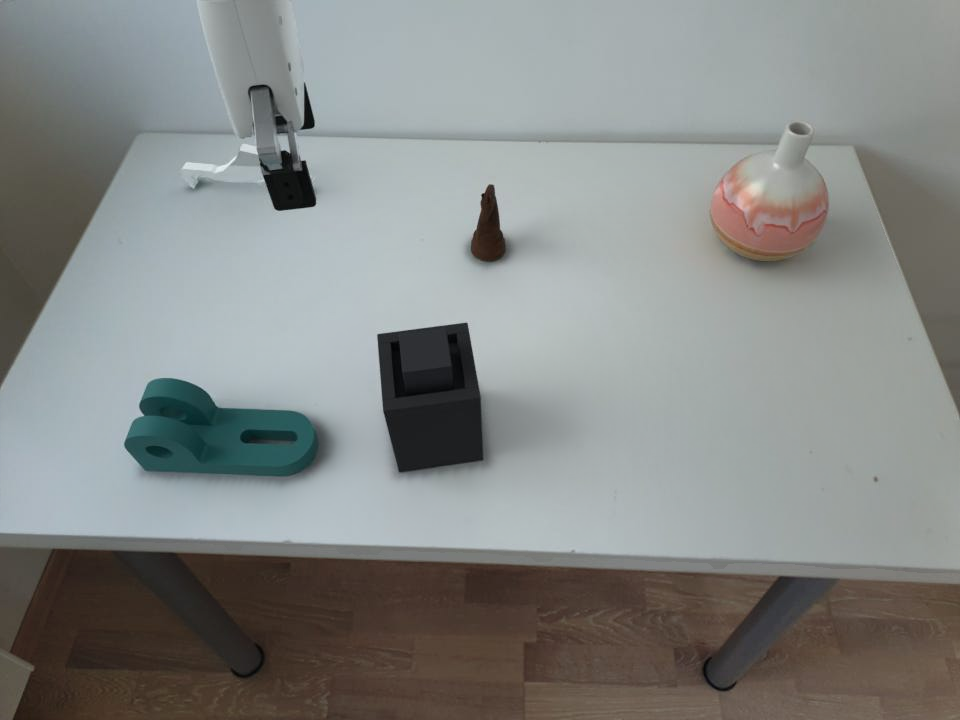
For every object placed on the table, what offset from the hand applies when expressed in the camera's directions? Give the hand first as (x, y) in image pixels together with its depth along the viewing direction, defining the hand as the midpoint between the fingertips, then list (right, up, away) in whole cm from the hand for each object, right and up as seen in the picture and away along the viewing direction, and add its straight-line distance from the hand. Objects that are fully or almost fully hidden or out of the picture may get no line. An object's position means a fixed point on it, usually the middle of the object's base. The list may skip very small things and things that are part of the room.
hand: (296, 165), depth 57 cm
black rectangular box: (+10, -23, +20) cm, 33 cm away
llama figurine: (-18, +8, +44) cm, 48 cm away
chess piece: (+16, -1, +36) cm, 40 cm away
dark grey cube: (+10, -17, +11) cm, 23 cm away
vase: (+51, 0, +36) cm, 62 cm away
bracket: (-12, -25, +20) cm, 34 cm away
